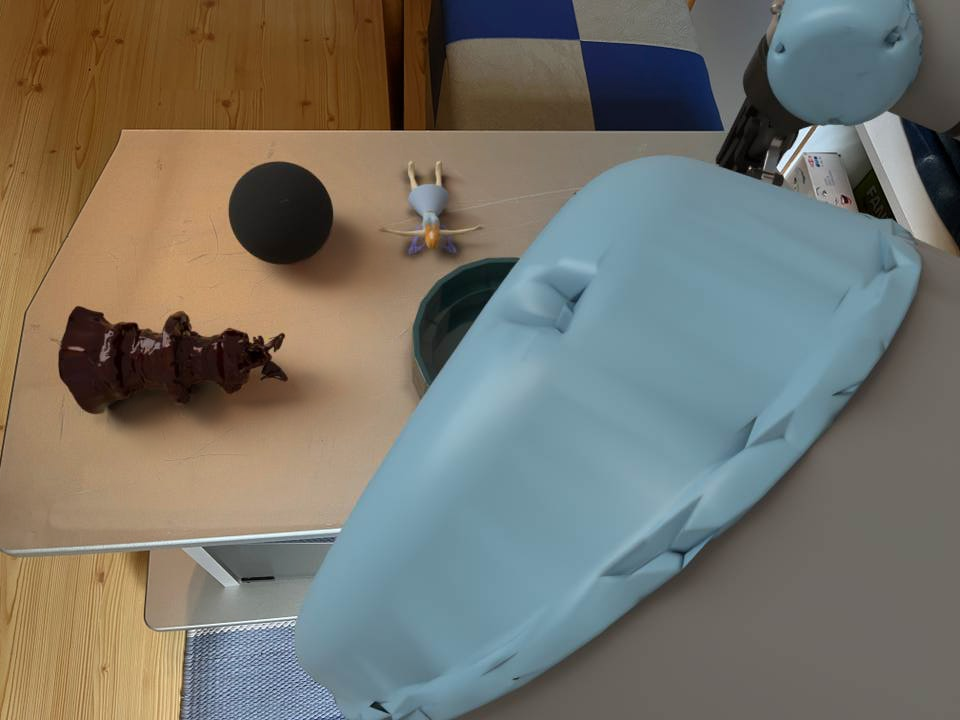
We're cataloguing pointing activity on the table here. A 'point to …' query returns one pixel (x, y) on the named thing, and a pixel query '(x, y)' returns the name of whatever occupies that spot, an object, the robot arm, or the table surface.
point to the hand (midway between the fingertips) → (697, 244)
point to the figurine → (155, 359)
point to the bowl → (452, 315)
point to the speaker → (280, 213)
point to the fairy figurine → (429, 211)
